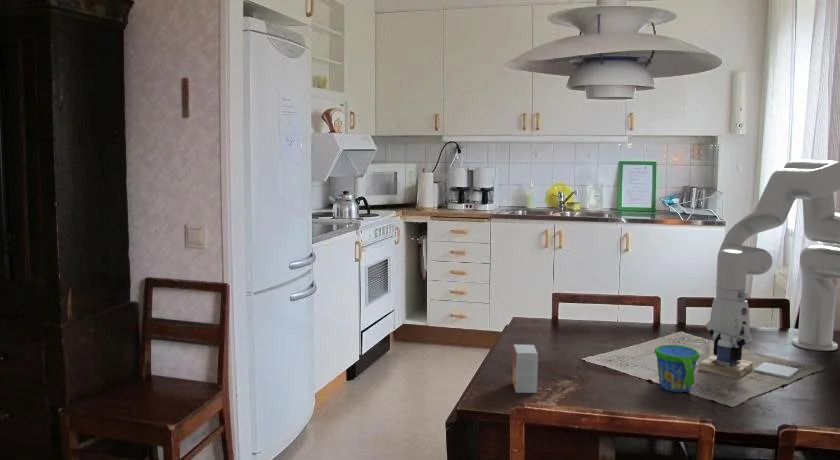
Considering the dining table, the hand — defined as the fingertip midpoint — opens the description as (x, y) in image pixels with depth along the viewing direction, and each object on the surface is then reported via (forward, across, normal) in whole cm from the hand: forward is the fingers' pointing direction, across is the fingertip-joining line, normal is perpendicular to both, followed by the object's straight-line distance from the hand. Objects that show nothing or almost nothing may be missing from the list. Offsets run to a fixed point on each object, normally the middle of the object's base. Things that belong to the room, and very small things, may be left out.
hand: (727, 356), depth 205 cm
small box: (+3, +12, +60) cm, 61 cm away
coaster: (+4, -7, -11) cm, 14 cm away
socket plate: (+4, 0, 0) cm, 4 cm away
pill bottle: (+3, 0, 0) cm, 3 cm away
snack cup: (+3, -6, +25) cm, 26 cm away
